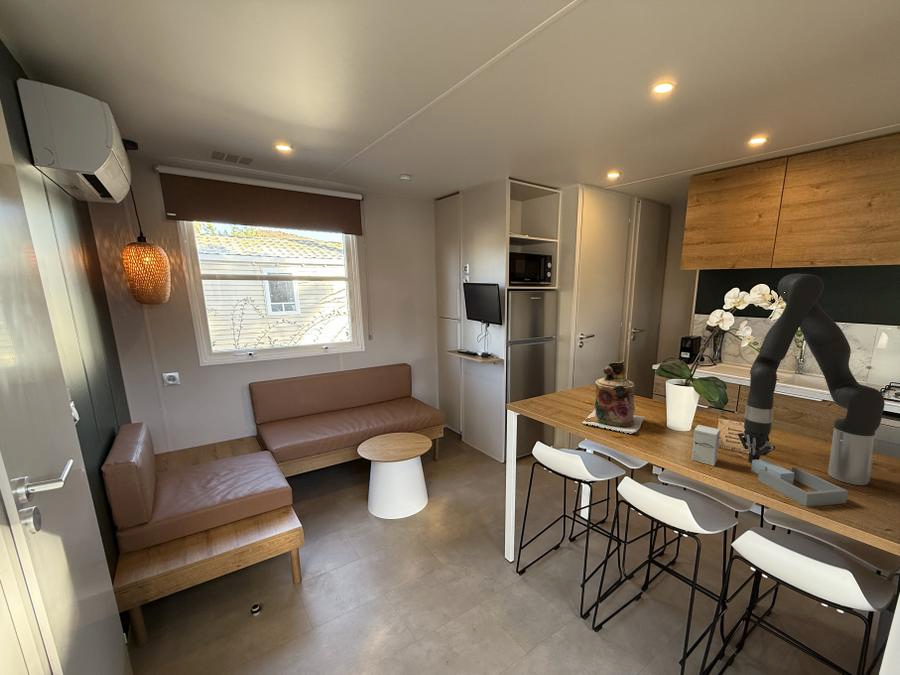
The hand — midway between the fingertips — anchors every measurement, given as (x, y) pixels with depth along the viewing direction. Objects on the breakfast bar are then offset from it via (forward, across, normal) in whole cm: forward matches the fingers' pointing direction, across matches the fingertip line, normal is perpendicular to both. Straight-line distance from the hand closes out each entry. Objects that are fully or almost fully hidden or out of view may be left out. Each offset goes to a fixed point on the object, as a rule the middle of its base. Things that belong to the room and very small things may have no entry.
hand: (753, 463), depth 132 cm
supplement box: (+2, +7, +13) cm, 15 cm away
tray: (+1, -16, 0) cm, 16 cm away
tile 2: (+2, -10, 0) cm, 10 cm away
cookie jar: (+2, +49, +26) cm, 56 cm away
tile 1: (+2, -5, 0) cm, 5 cm away
